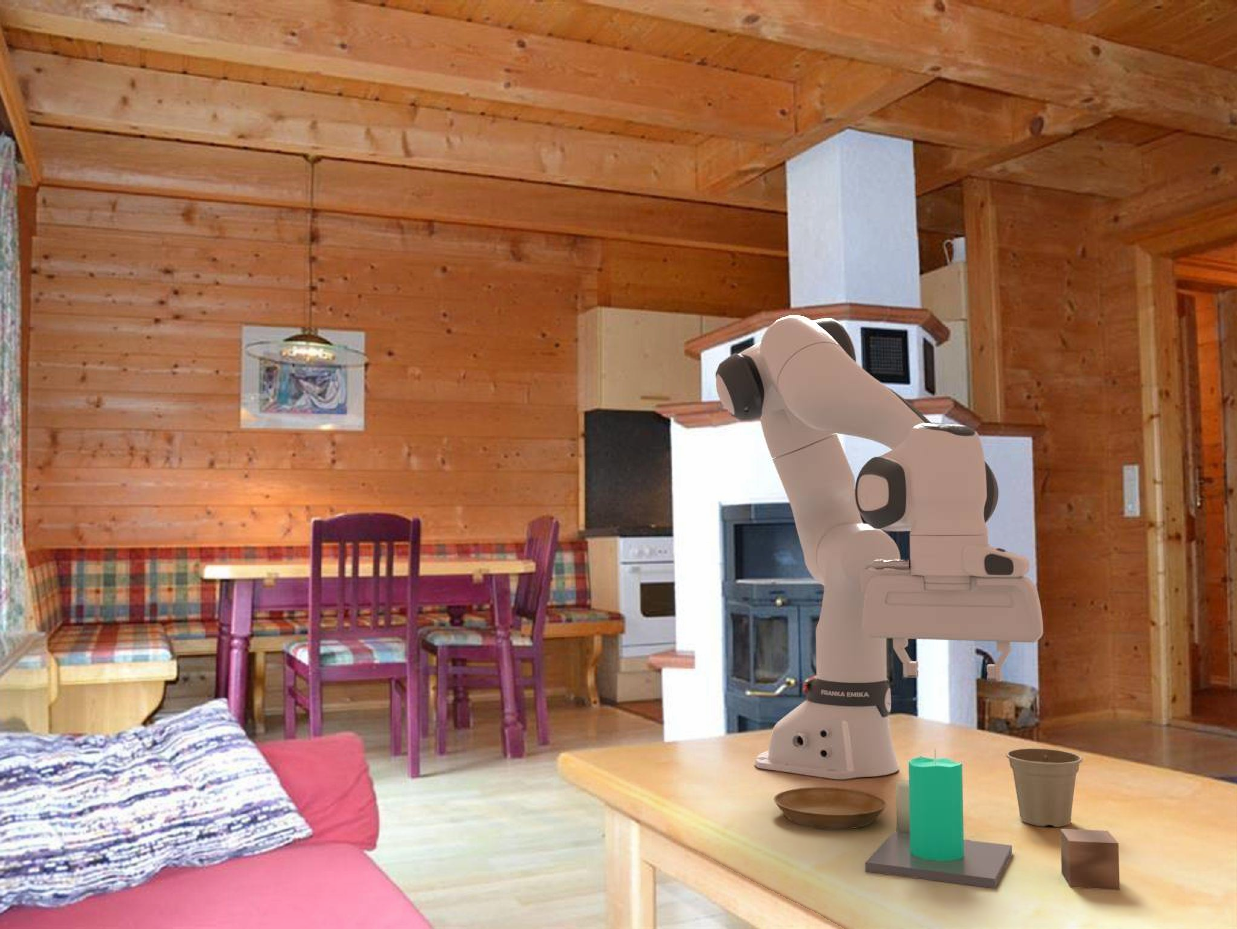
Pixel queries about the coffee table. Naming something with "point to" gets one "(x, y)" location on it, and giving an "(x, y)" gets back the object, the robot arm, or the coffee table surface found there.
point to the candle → (936, 808)
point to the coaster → (942, 862)
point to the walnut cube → (1090, 859)
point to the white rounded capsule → (903, 807)
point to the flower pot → (1044, 784)
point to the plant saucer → (830, 807)
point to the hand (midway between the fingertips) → (952, 679)
